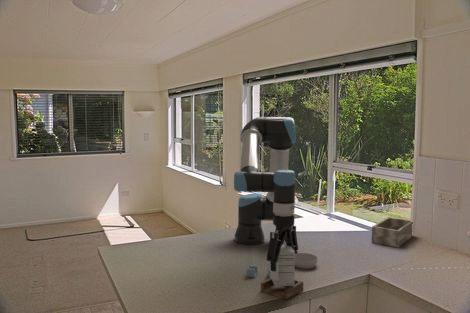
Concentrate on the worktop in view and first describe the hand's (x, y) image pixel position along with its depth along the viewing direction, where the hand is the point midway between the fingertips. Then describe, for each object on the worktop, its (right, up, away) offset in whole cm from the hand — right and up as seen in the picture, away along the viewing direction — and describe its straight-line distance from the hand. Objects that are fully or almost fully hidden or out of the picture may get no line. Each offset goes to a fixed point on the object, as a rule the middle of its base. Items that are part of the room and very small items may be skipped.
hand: (282, 274), depth 149 cm
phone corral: (+64, 0, +65) cm, 92 cm away
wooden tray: (0, -6, +1) cm, 6 cm away
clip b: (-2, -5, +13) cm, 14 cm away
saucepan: (+9, -4, +28) cm, 30 cm away
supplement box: (0, -3, 0) cm, 3 cm away
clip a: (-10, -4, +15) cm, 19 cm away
